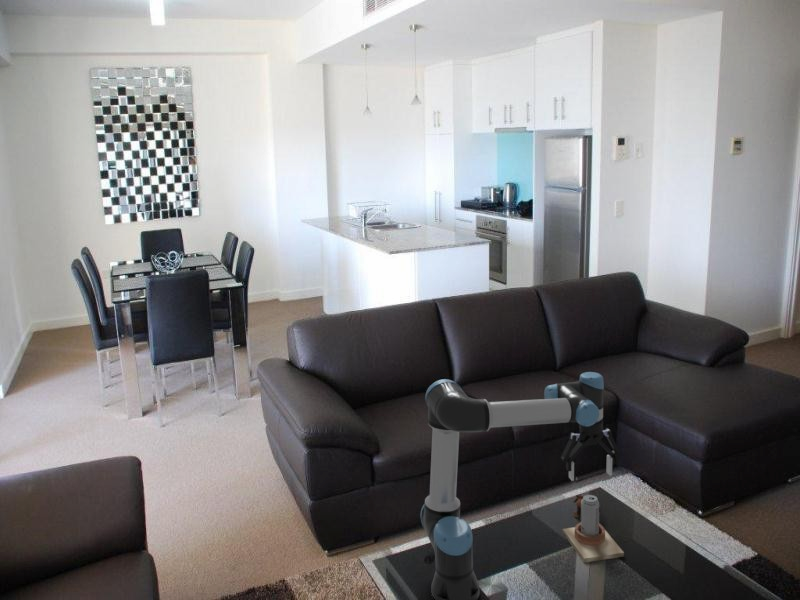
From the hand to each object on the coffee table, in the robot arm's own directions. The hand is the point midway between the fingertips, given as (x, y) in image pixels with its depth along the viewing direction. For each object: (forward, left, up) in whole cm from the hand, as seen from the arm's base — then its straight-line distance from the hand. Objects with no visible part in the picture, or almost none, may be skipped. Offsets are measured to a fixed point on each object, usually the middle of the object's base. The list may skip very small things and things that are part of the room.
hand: (590, 476), depth 233 cm
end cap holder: (0, -2, -25) cm, 25 cm away
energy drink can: (0, 0, -23) cm, 23 cm away
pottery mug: (+6, +16, -25) cm, 30 cm away
